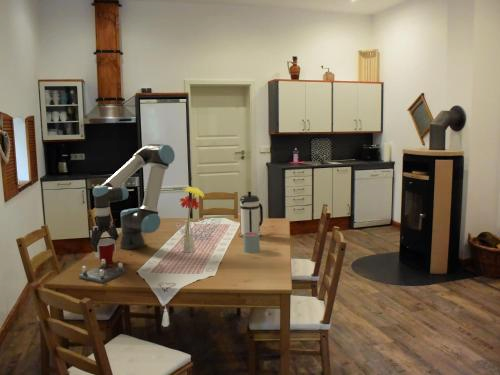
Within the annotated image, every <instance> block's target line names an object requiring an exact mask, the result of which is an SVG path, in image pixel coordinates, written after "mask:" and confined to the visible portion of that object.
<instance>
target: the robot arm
mask: <svg viewBox="0 0 500 375" xmlns="http://www.w3.org/2000/svg"><path fill="white" fill-rule="evenodd" d="M175 157H176V153H175V151H174V149H173V147H172V146H171V145H170V144H169V145H168V144H164V143H161V144H160V143H159V144H157V143H155V144H154V143H150V144H146V145H144V146H143V147H141V148H140V149H138V150H137V151H136V152H135V153H134V154H133V155H132V158H130V159H129V160H128V161H126V163H125V164H123V165H122V166H121V168H119V169H118V170H117V171H116V172H115V173H114V174H113V175H111V176H110V177H108V179H106V181H104V182H103V183H102V184H101V185H100V184H99V185H96V186H94V187H93V188H92V196H93V198H94V200H93V202H94V209H95V210H94V212H95V223H96V225H95V226H92V227H91V230H92V231H91V237H90V242H89V246H93V252H94V257H95V258H97V259H100V252H99V246H98V243H99V240H100V239H102V238H101V237H102V235H103V234H104V233H105V232H106V233H108V235H109V237H110V239H114V240H115V243H114V250H113V253H116V252H117V240H119V238H120V240H119V248H121V249H122V250H124V249H125V250H134V249H139V248H142V247H144V246H145V245H146V241H145V239H144V236H143V233H144V234H152V233H155V232H156V231H157V230H158V229H159V227H160V226H161V219H160V218H161V217H160V216H159V210H158V205H159V200H160V195H161V190H162V187H163V186H162V185H163V182H164V177H165V172H166V170H167V169H168V168H169V166H170V164H172V163H173V162H174V161H175ZM148 164H149V166H150V169H149V174H148V178H147V184H146V188H145V193H144V197H143V202H142V205H141V206H140V207H136V208H128V209H123V210H121V212H120V228H121V236H119V233H118V230H117V227H116V222H115V221H111V219H112V218H111V206H110V205H111V204H110V203H114V202H115V203H116V202H122V201H124V200H127V199H128V197H129V190H128V188H127V187H126V186H122V185H123V184H124V183H125V182H126V181H127V180H128V179H129V178H130V177H132V176H133V175H134V174H135V173H136V172H137V171H138V170H139V169H141V168H143V167H145V166H146V165H148Z"/></svg>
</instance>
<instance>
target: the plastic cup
mask: <svg viewBox="0 0 500 375" xmlns="http://www.w3.org/2000/svg"><path fill="white" fill-rule="evenodd" d="M114 243H115V240H114V239H112V238H111V237H110V238H107V237H106V238H100V240H99V243H98V246H99V252H100V258H99V260H100V262H101V259H105V261H106V265H107V264H111V263H112V262H113V256H114V252H113V250H114Z"/></svg>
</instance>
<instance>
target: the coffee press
mask: <svg viewBox="0 0 500 375" xmlns="http://www.w3.org/2000/svg"><path fill="white" fill-rule="evenodd" d="M239 203H240V204H239V209H240V210H239V212H240V213H239V214H240V215H239V218H240V219H239V220H240V233H239V234H238V236H239V238H242V236H243V234H244V233H246V232H257V233H259V237H262V233H261V229H260V227H261V226H262V224H263V222H264V221H263V220H264V212H263V211H264V210H263V204H261V202H260V198H259V196H258V195H255V194H252V191H247V194H244V195H242V196H241V197H240V198H239ZM260 234H261V235H260Z"/></svg>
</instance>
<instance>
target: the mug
mask: <svg viewBox="0 0 500 375" xmlns="http://www.w3.org/2000/svg"><path fill="white" fill-rule="evenodd" d="M259 235H260V232H259V233H257V232H246V233H244V234H243V235H242V236H243V237H242V238H243V252H245V253H248V254H255V253H259V252H260V250H261V249H260V246H261V245H260V236H259Z"/></svg>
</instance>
